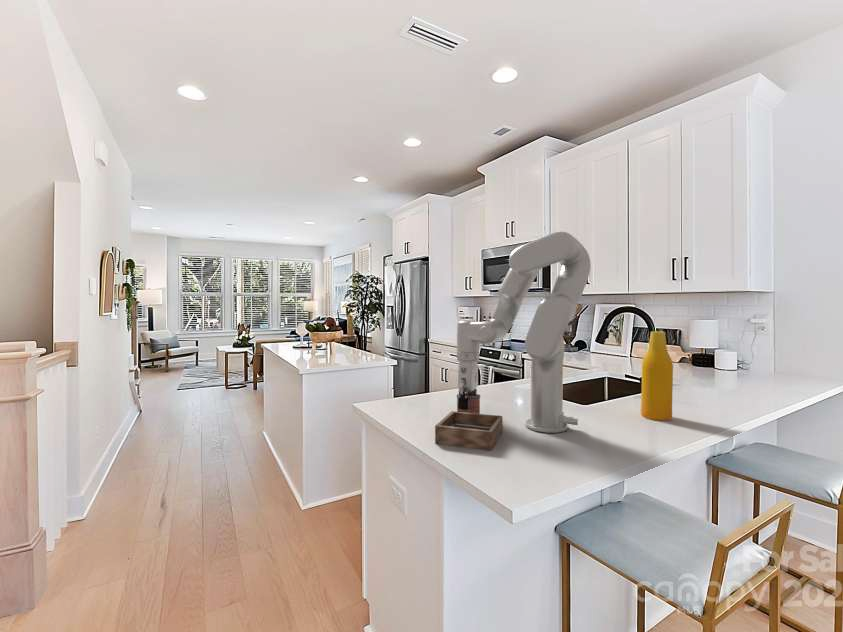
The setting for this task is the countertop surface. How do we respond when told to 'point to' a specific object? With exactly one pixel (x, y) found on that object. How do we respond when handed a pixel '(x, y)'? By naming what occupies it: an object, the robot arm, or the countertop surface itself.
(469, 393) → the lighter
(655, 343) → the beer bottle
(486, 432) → the walnut box
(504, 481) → the countertop surface
